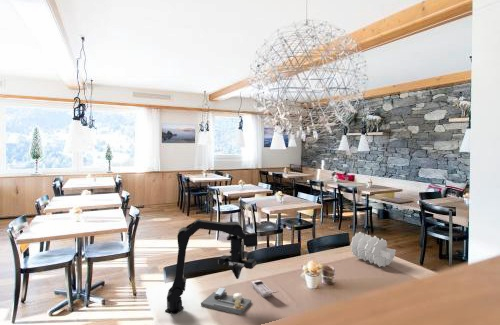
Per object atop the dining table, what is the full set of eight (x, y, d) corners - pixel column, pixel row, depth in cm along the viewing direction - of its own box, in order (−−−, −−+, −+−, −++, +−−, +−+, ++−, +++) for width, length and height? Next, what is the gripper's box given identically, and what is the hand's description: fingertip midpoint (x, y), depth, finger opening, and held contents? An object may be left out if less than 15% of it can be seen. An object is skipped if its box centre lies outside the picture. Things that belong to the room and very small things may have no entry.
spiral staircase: (382, 275, 190) (351, 261, 212) (399, 259, 197) (368, 246, 219) (374, 252, 185) (344, 239, 207) (392, 236, 191) (361, 225, 213)
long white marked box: (269, 293, 151) (248, 274, 174) (269, 305, 151) (248, 284, 174) (279, 290, 154) (258, 272, 176) (279, 302, 154) (258, 282, 177)
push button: (231, 300, 152) (231, 296, 152) (236, 296, 156) (235, 292, 156) (239, 302, 150) (239, 297, 150) (243, 298, 154) (243, 293, 154)
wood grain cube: (234, 308, 146) (234, 302, 145) (237, 305, 148) (237, 299, 148) (238, 309, 145) (238, 302, 145) (240, 306, 147) (240, 300, 147)
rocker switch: (215, 295, 156) (215, 293, 155) (220, 288, 160) (220, 287, 160) (220, 296, 154) (220, 294, 154) (225, 289, 159) (225, 288, 159)
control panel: (201, 305, 152) (200, 300, 152) (213, 294, 163) (213, 289, 162) (240, 315, 142) (240, 308, 142) (251, 302, 153) (251, 297, 153)
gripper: (260, 244, 155) (261, 275, 156) (227, 241, 163) (228, 269, 164) (251, 252, 145) (252, 284, 146) (217, 247, 153) (218, 278, 154)
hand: (237, 278), depth 153 cm, fingers closed
